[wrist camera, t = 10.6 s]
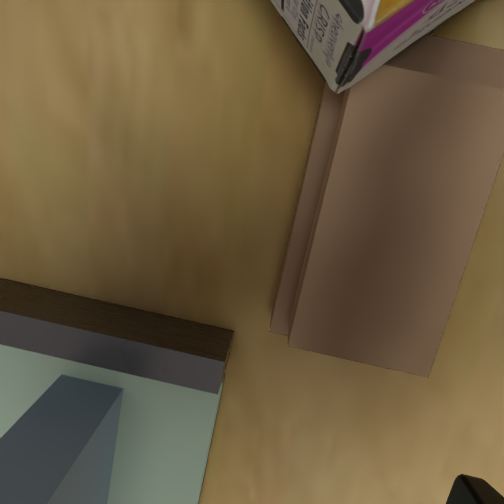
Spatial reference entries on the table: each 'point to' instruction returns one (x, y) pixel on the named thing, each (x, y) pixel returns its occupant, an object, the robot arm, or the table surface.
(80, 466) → the grey panel
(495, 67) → the offcut pile
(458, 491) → the robot arm
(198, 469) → the mat
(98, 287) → the table surface
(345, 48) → the candy bar box
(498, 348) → the table surface
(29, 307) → the rack
